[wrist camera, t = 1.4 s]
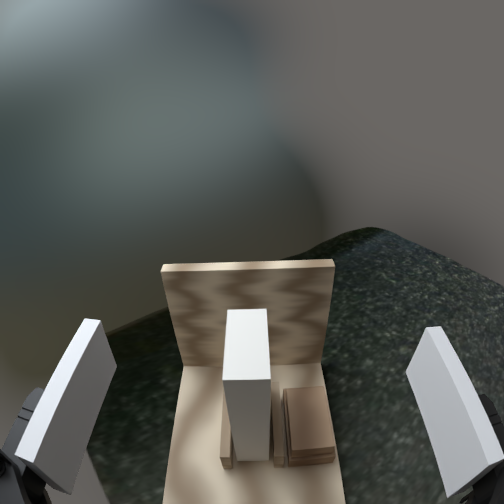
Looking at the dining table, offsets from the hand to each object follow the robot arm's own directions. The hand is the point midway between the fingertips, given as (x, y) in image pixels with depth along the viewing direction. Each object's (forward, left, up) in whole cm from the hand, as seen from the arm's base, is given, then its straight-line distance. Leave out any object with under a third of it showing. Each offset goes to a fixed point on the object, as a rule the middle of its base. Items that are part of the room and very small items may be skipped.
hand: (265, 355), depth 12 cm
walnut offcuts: (-9, -6, -26) cm, 28 cm away
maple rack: (-4, -9, -27) cm, 29 cm away
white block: (-4, -9, -26) cm, 28 cm away
